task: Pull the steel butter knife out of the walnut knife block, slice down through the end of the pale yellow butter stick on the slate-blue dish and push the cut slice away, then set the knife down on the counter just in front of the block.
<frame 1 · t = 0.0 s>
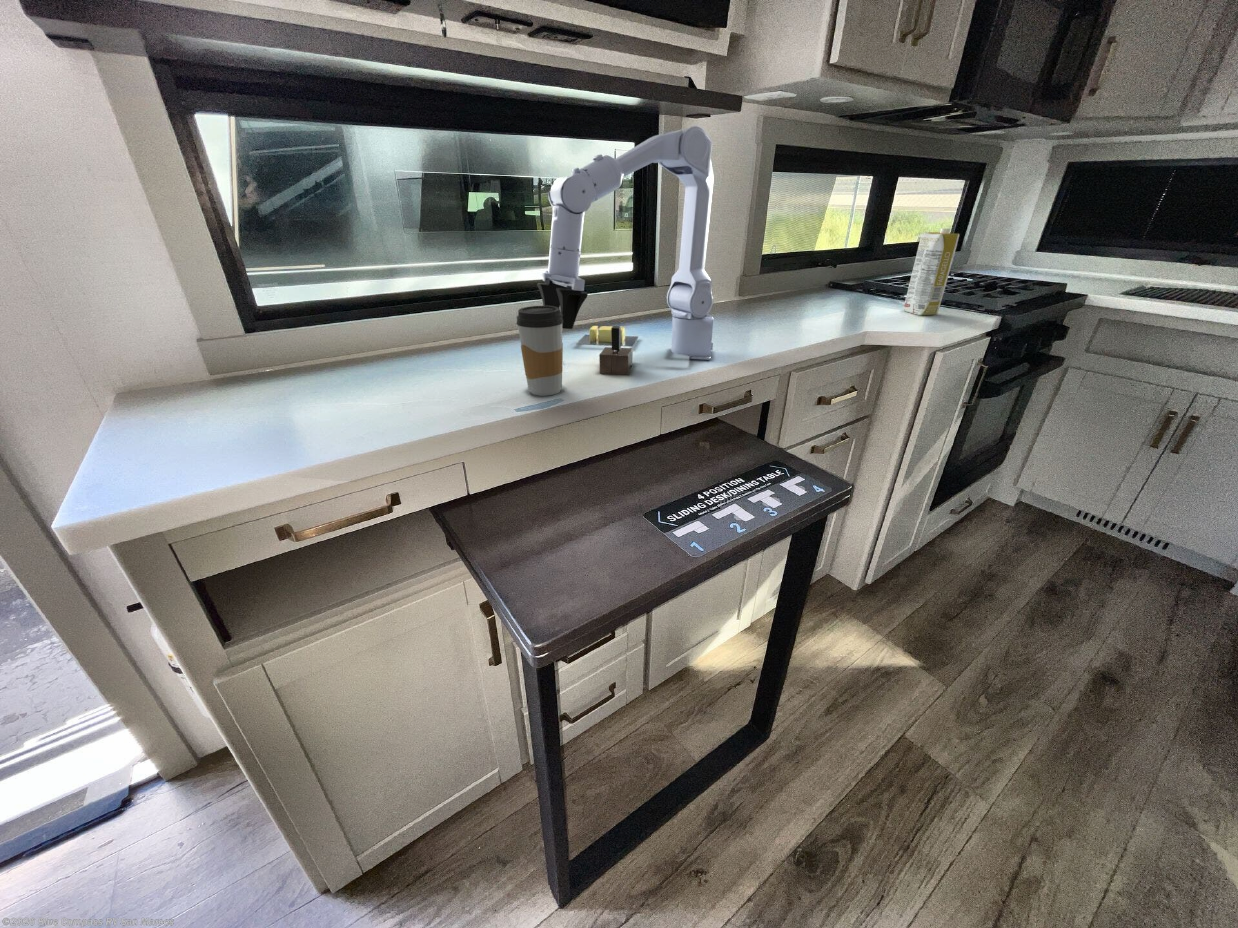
hand: (558, 324, 99), 11 cm above the worktop, tool pointing down, fingers open, 7 cm apart
juice carton: (919, 313, 158), on the worktop
butter block: (611, 340, 126), point 1 cm above the worktop, touching butter dish
butter dish: (608, 344, 127), on the worktop
coffee cup: (545, 391, 96), on the worktop
knife: (616, 370, 107), resting in knife block
butter slice: (593, 339, 127), point 1 cm above the worktop, touching butter dish
knife block: (616, 369, 107), on the worktop
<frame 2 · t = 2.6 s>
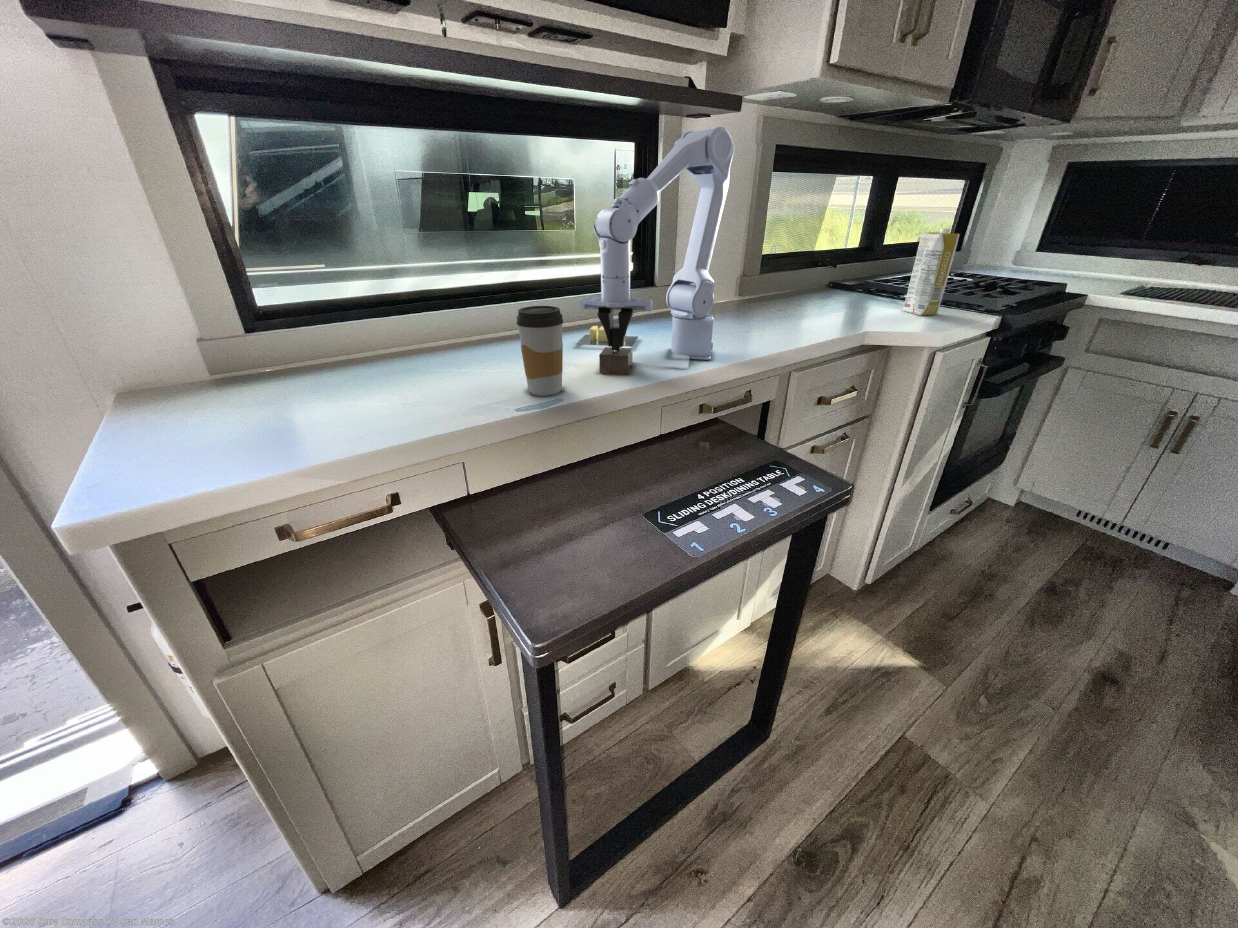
hand: (616, 345, 105), 5 cm above the worktop, tool pointing down, fingers closed on knife, 2 cm apart
knife: (616, 370, 107), resting in knife block, touching gripper
everything else where it was.
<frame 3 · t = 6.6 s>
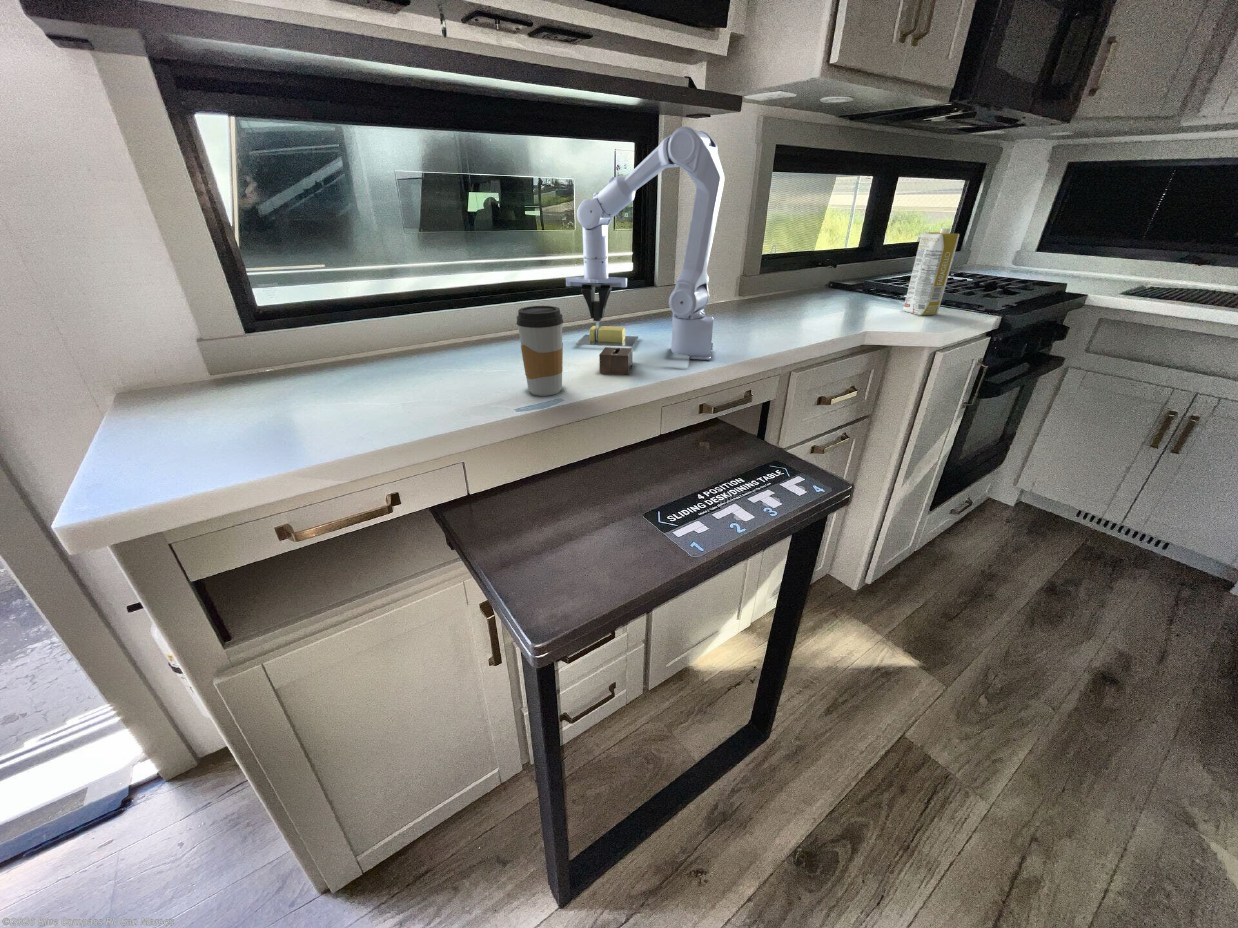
hand: (597, 317, 124), 7 cm above the worktop, tool pointing down, fingers closed on knife, 1 cm apart
knife: (597, 338, 127), point 1 cm above the worktop, touching gripper
everything else where it was.
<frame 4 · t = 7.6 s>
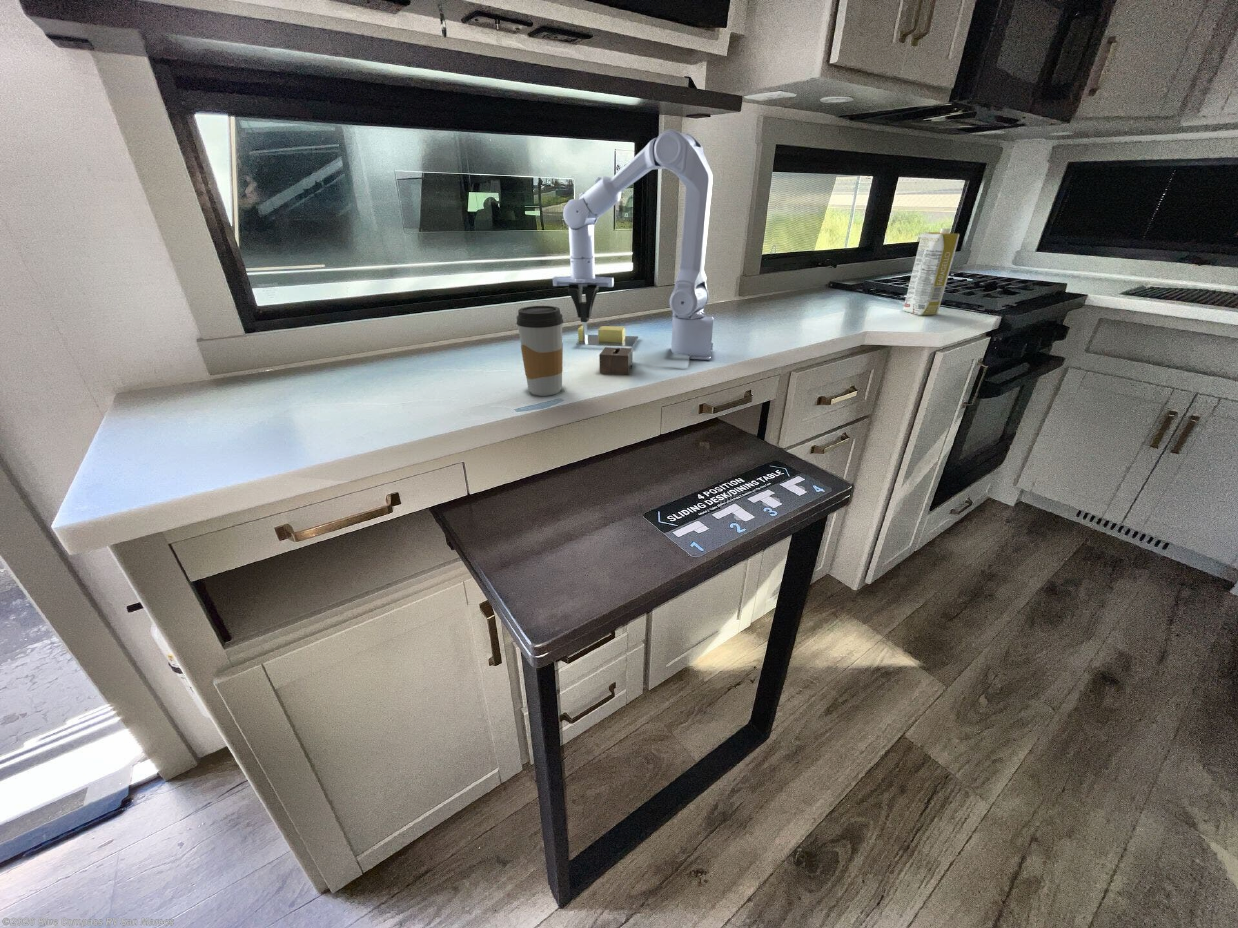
hand: (584, 317, 125), 7 cm above the worktop, tool pointing down, fingers closed on knife, 1 cm apart
knife: (585, 339, 127), point 1 cm above the worktop, touching butter dish, butter slice, gripper
butter slice: (582, 339, 127), point 1 cm above the worktop, touching butter dish, knife
everything else where it was.
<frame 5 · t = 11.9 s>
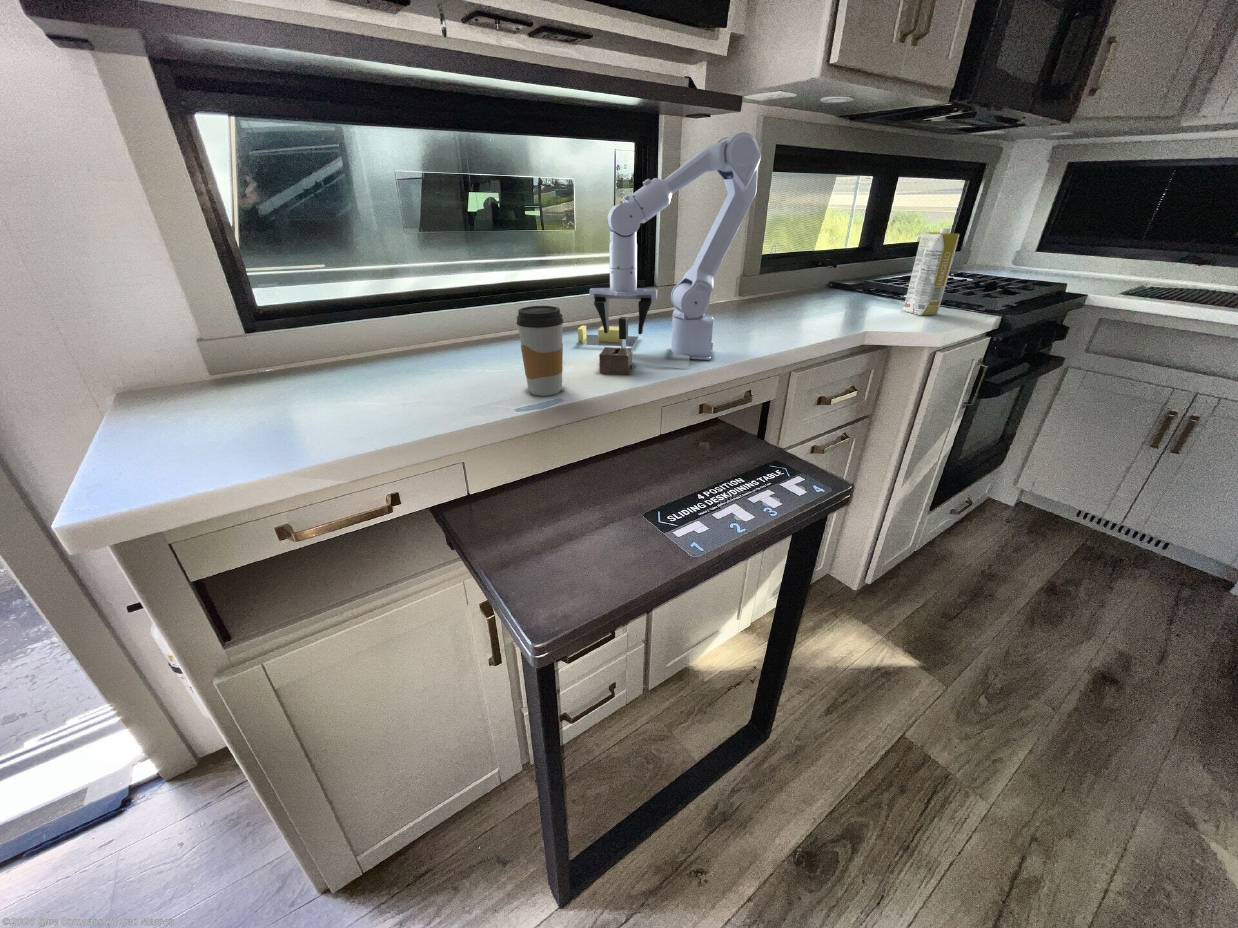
hand: (623, 332, 113), 6 cm above the worktop, tool pointing down, fingers open, 7 cm apart
knife: (623, 358, 116), on the worktop
butter slice: (582, 339, 127), point 1 cm above the worktop, touching butter dish
everything else where it was.
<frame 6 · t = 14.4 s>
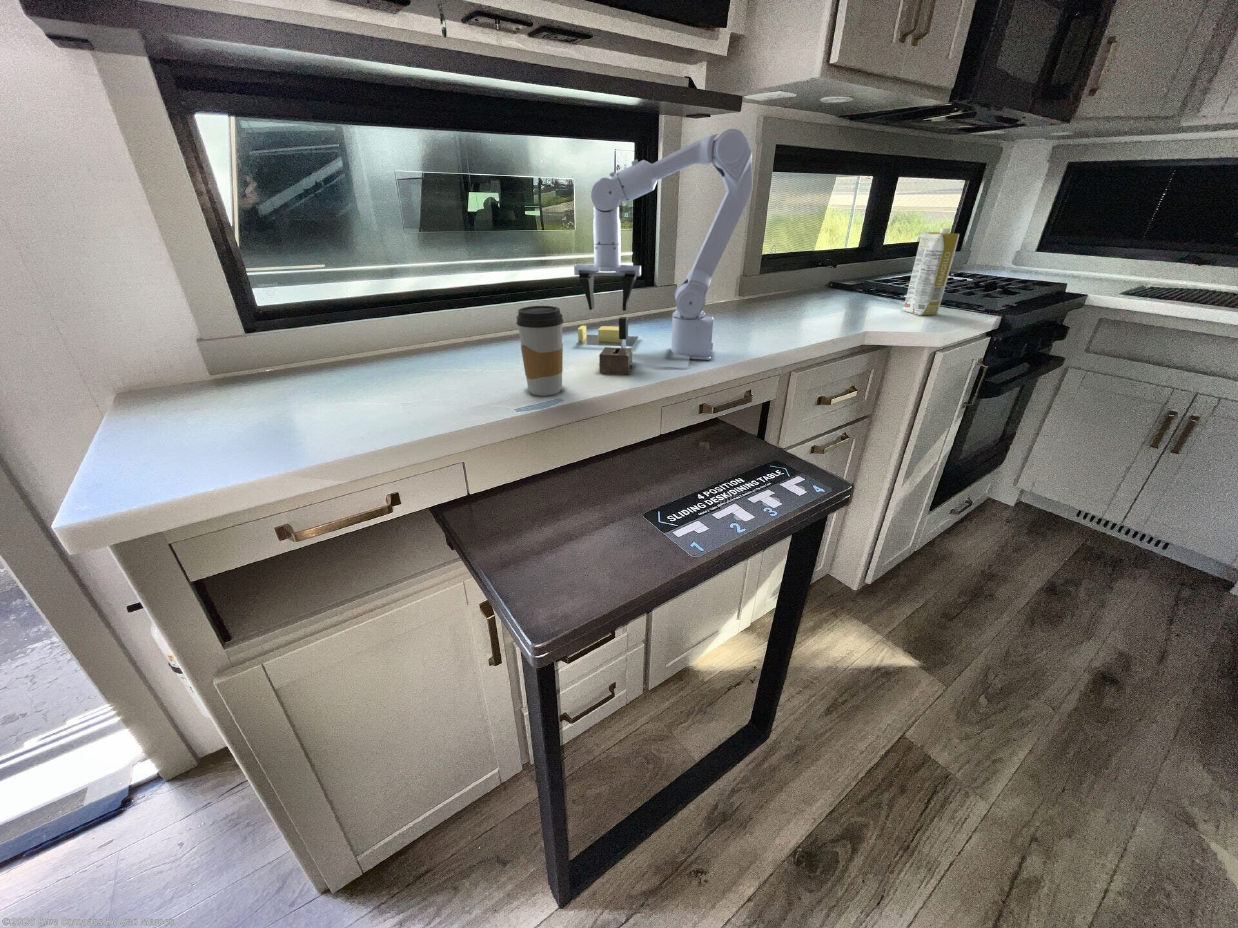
hand: (608, 309, 114), 10 cm above the worktop, tool pointing down, fingers open, 7 cm apart
nothing on the worktop moved.
at the end: butter slice moved 2.9 cm from its start; butter slice touching butter dish; knife inside the target area on the worktop beside the knife block (0.2 cm from its centre), on the worktop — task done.
